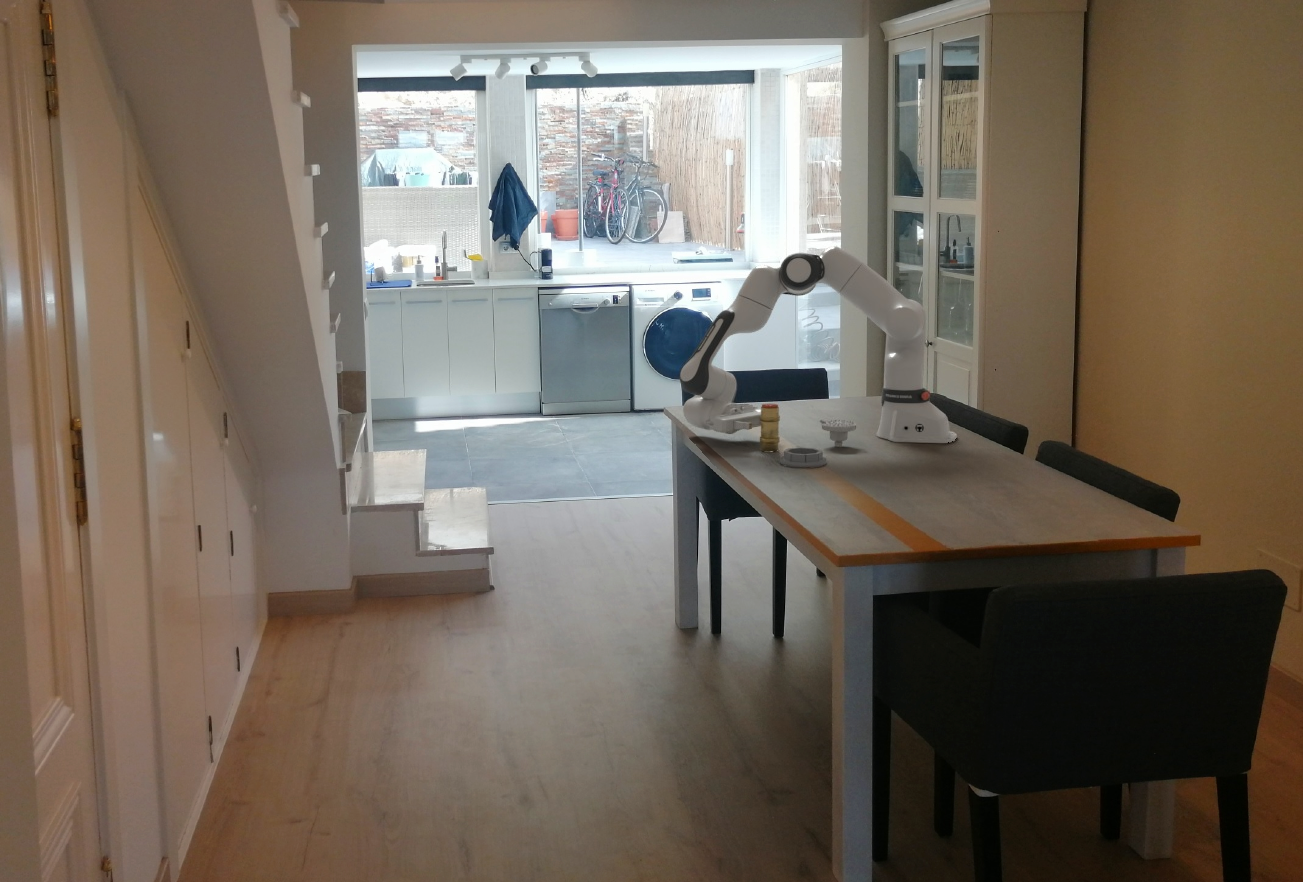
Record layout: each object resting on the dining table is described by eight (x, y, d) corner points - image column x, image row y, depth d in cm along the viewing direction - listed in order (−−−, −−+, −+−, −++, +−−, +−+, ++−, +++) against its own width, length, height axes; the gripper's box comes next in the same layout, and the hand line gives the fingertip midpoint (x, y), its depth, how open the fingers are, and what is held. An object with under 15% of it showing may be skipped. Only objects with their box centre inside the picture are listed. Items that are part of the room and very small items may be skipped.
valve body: (781, 449, 345) (782, 403, 342) (776, 452, 340) (776, 407, 338) (762, 447, 347) (763, 402, 344) (757, 451, 342) (757, 405, 340)
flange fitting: (831, 460, 330) (831, 448, 329) (819, 469, 319) (819, 457, 319) (787, 457, 335) (787, 445, 334) (774, 465, 324) (774, 453, 323)
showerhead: (820, 417, 353) (856, 418, 351) (820, 442, 354) (856, 443, 352) (818, 422, 344) (855, 423, 342) (818, 448, 345) (854, 450, 343)
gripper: (700, 411, 348) (734, 417, 337) (753, 402, 361) (788, 408, 350) (700, 433, 349) (735, 440, 339) (753, 424, 362) (787, 430, 351)
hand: (762, 424), depth 344 cm, fingers open, 8 cm apart
